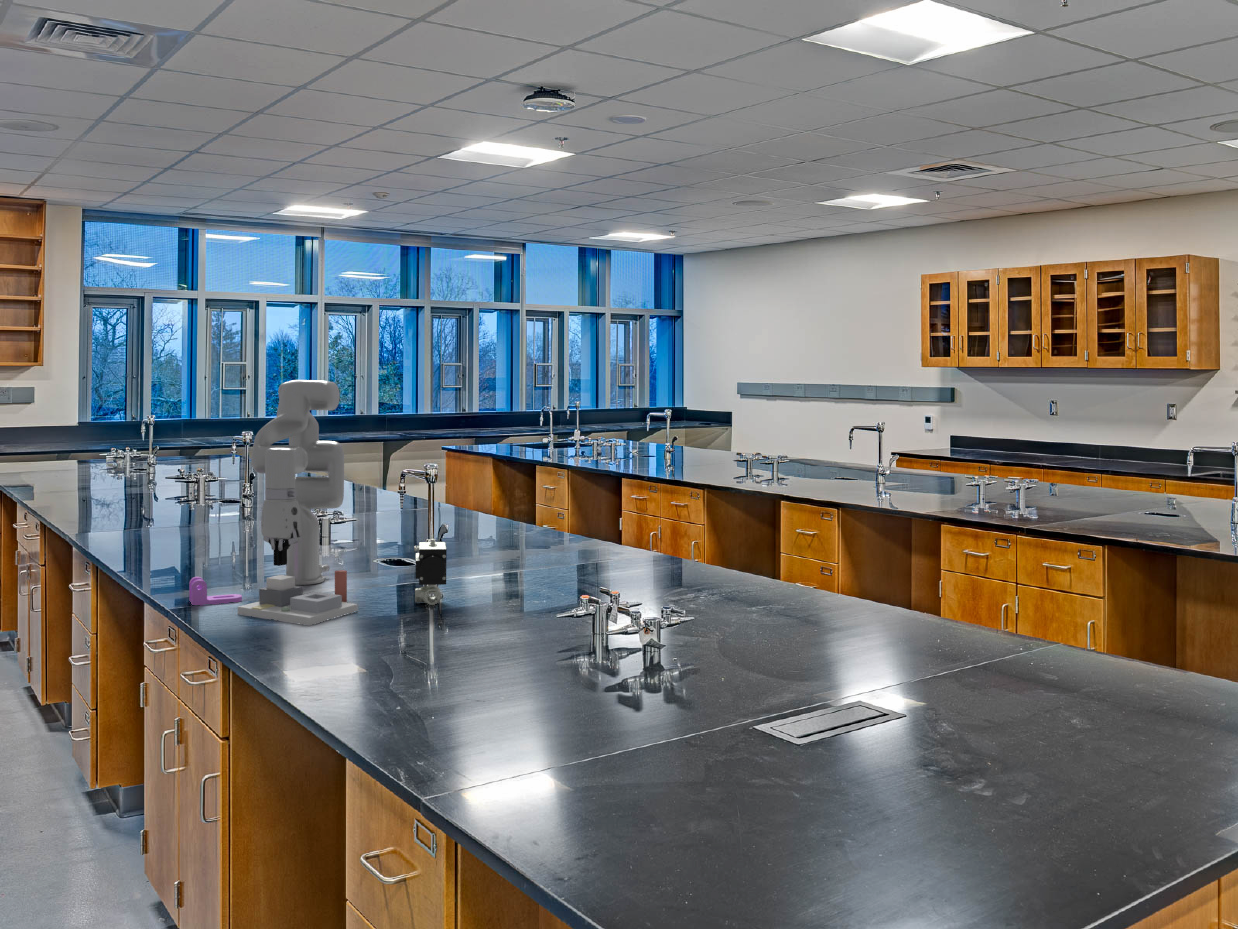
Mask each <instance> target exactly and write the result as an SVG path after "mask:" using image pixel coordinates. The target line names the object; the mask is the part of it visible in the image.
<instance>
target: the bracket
mask: <svg viewBox="0 0 1238 929" xmlns="http://www.w3.org/2000/svg"><path fill="white" fill-rule="evenodd" d="M188 584H189V587H188V588H189V590H188V591H189V594H188V597H189V598H188V599H189V601H190V602H191V604H192V605H200V606H205V605H204V604H212V605H222V604H221V603H224V604H230V603H229V602H235V603H240V602H242V600H243V595H242V594H239V593H231V594H229V593H228V594H217V595H208V585H207V583H206V581H205V580H204V579H203V578H202V577H201V576H194V577H192V578H191V579H190V580H189V583H188ZM189 601H188V602H189ZM190 602H189V603H190ZM219 603H220V604H219ZM191 604H190V605H191ZM192 605H191V606H192Z"/></svg>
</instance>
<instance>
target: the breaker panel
mask: <svg viewBox="0 0 1238 929" xmlns="http://www.w3.org/2000/svg"><path fill="white" fill-rule="evenodd" d="M258 599H259V600H258V601H255V602H251V603H248V604H242V605H239V606H237V615H240V616H246V617H251V616H252V617H254V618H258V619H265V620H271V619H274V620H273V621H277V620H279V622H284V623H290V624H296V623H300V624H299V625H302V624H305V625H304V626H309V625H310V626H313V625H312V624H314V625H316V624H315V623H317V624H320V622H321V623H324V622H326V621H325V620H327V619H331V620H333V619H332V618H334V617H337V616H341V615H344V614H347V613H351V614H353V613H352V612H354V611H357V610H358V611H359V609H358V608H359V606H358V605H359V604H358V603H353V602H347V603H346V602H342V595H336V594H335V593H328V592H321V591H320V592H319V591H312V592H309V593H305V594H303V586H300V585H295V588H291V589H287V590H283V591H279V590H272V589H267V586H266V587H260V588H259V589H258ZM341 617H342V616H341ZM334 619H335V618H334ZM323 621H324V622H323ZM327 621H328V620H327Z"/></svg>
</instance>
